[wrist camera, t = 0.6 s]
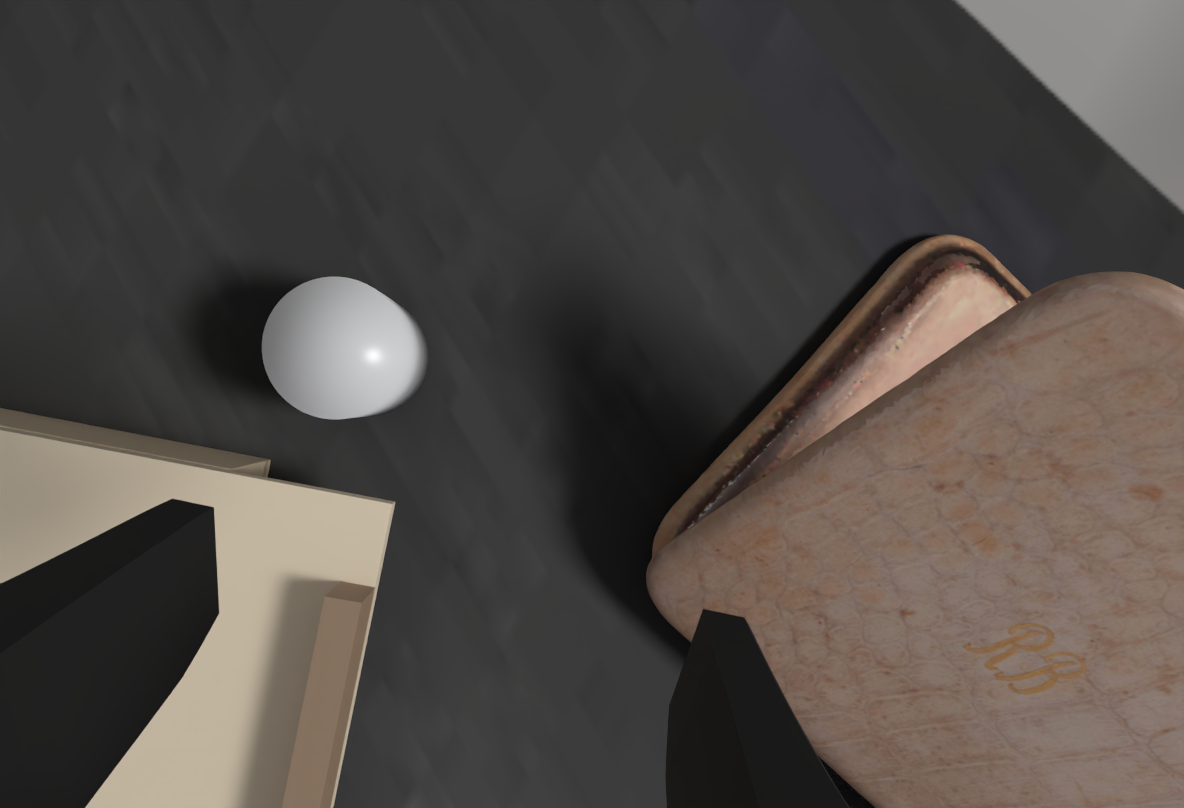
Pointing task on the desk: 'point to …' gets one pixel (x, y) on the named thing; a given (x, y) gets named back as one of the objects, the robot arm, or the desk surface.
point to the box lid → (223, 617)
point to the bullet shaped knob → (343, 350)
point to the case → (965, 539)
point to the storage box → (134, 442)
